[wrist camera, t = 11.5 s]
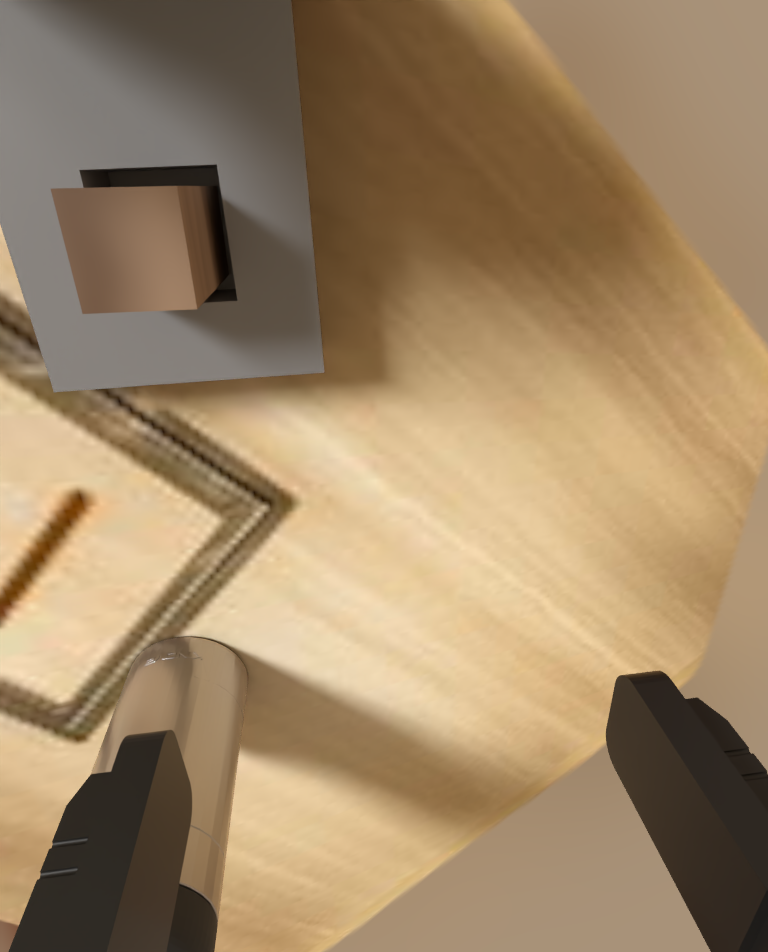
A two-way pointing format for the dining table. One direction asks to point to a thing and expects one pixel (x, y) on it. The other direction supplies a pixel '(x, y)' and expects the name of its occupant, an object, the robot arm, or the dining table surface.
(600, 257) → the dining table surface
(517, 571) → the dining table surface
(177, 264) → the peg
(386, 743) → the dining table surface
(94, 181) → the socket
